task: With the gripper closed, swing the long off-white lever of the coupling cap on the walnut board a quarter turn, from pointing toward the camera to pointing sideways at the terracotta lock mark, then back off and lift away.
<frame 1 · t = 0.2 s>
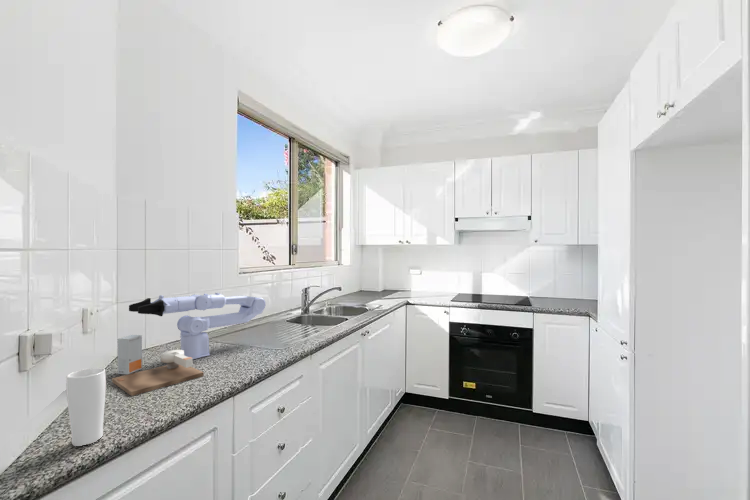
hand: (133, 309, 126), 21 cm above the counter, tool horizontal, fingers open, 7 cm apart
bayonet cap: (178, 358, 123), point 5 cm above the counter, hinge at 0.0°
skincare box: (130, 372, 125), on the counter
white tumbler: (87, 442, 79), on the counter
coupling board: (158, 378, 118), on the counter
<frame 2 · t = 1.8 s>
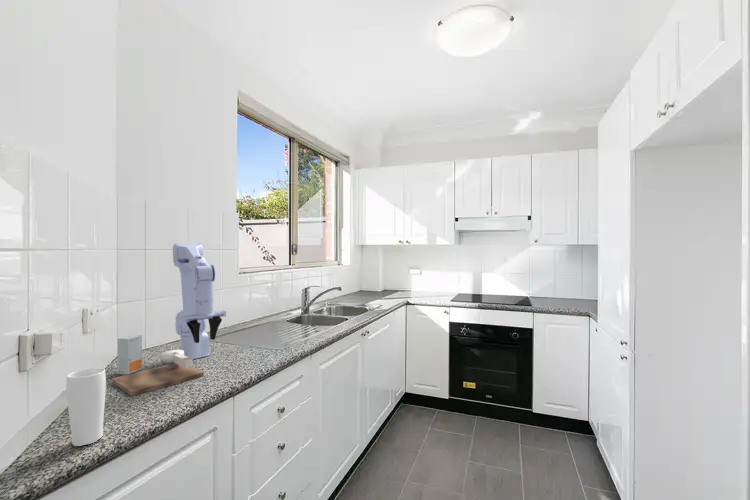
hand: (204, 340, 124), 10 cm above the counter, tool pointing down, fingers open, 5 cm apart
nothing on the counter moved.
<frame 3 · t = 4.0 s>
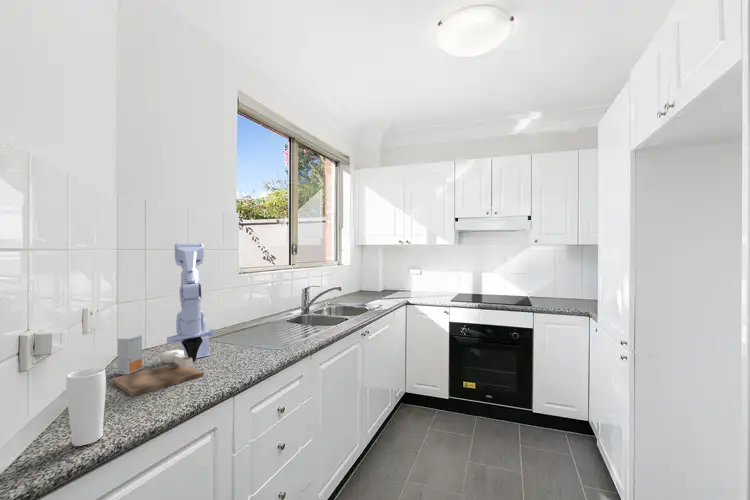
hand: (192, 361, 121), 5 cm above the counter, tool pointing down, fingers closed
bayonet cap: (178, 358, 123), point 5 cm above the counter, hinge at 0.1°, touching gripper
everything else where it was.
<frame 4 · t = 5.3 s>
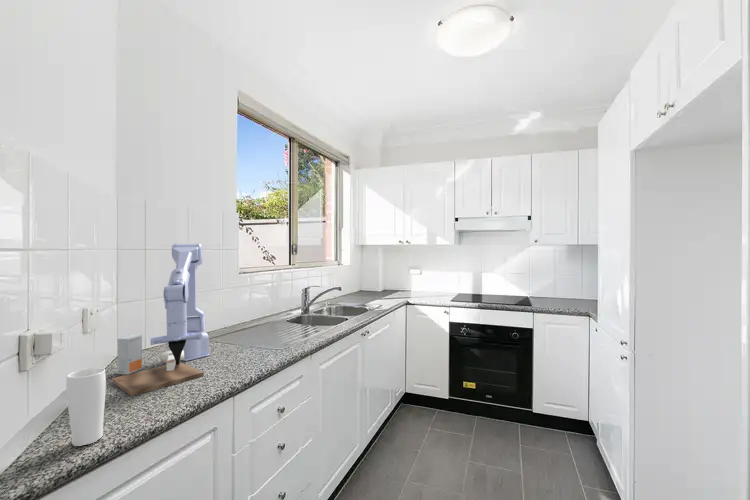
hand: (177, 364, 118), 5 cm above the counter, tool pointing down, fingers closed
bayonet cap: (171, 359, 121), point 5 cm above the counter, hinge at 24.2°, touching gripper
everything else where it was.
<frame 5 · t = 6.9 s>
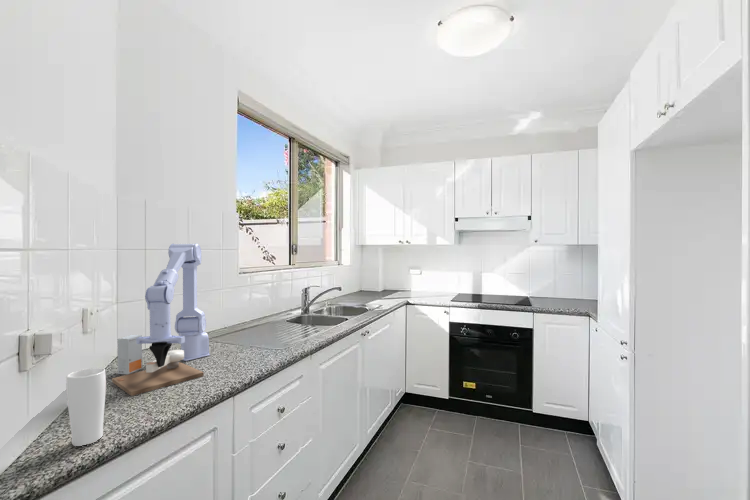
hand: (161, 366, 116), 5 cm above the counter, tool pointing down, fingers closed
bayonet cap: (164, 360, 121), point 5 cm above the counter, hinge at 50.4°, touching gripper
everything else where it was.
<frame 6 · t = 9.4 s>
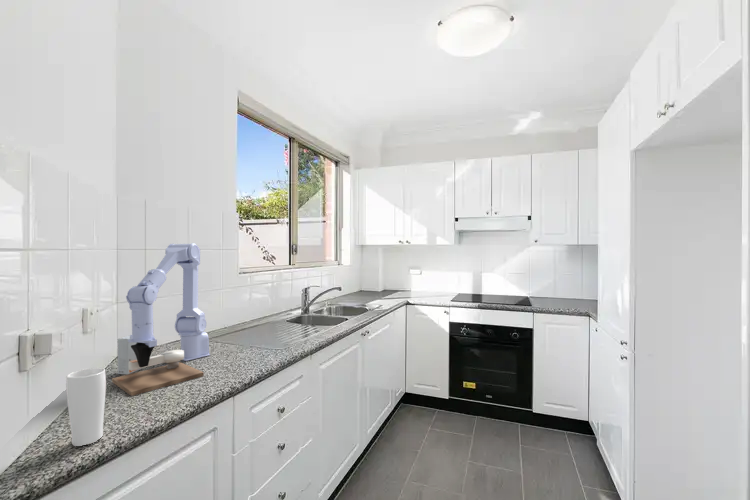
hand: (143, 366, 116), 5 cm above the counter, tool pointing down, fingers closed
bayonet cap: (157, 359, 122), point 5 cm above the counter, hinge at 86.2°, touching gripper
everything else where it was.
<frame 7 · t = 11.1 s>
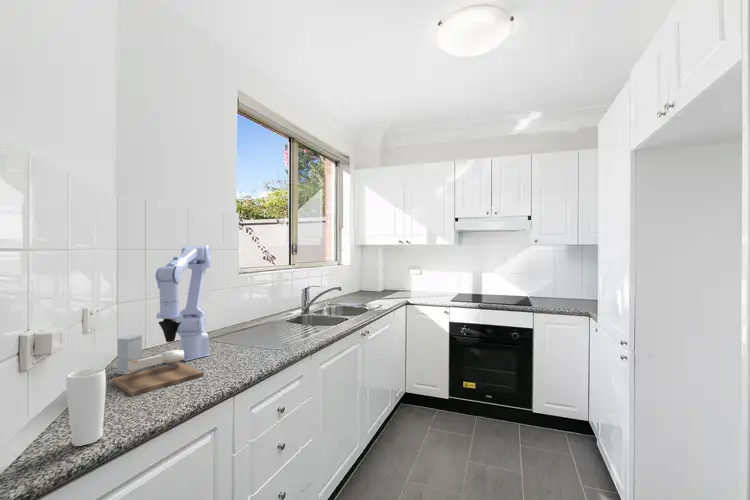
hand: (170, 341, 124), 10 cm above the counter, tool pointing down, fingers closed
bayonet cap: (157, 359, 122), point 5 cm above the counter, hinge at 86.3°
everything else where it was.
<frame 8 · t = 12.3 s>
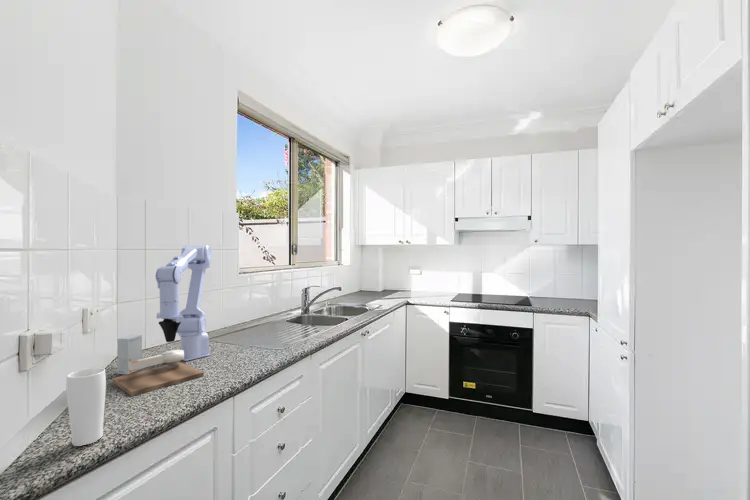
hand: (170, 341, 124), 10 cm above the counter, tool pointing down, fingers closed
nothing on the counter moved.
at the end: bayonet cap at +86° (first picture: +0°); the gripper is holding nothing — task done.
